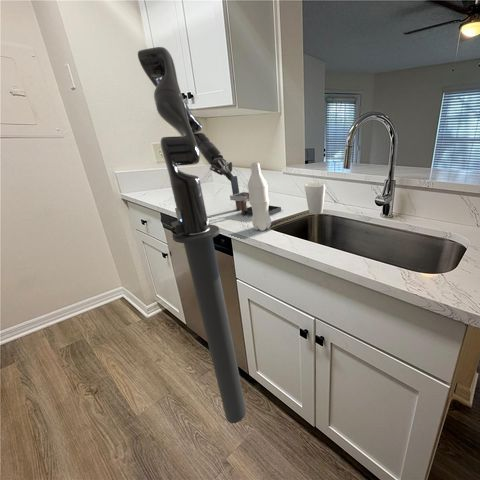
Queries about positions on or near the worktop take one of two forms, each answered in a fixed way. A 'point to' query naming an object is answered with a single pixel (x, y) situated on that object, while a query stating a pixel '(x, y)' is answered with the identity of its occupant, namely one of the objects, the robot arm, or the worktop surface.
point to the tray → (271, 210)
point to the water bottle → (259, 198)
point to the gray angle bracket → (237, 191)
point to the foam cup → (315, 197)
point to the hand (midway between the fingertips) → (232, 179)
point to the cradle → (241, 206)
